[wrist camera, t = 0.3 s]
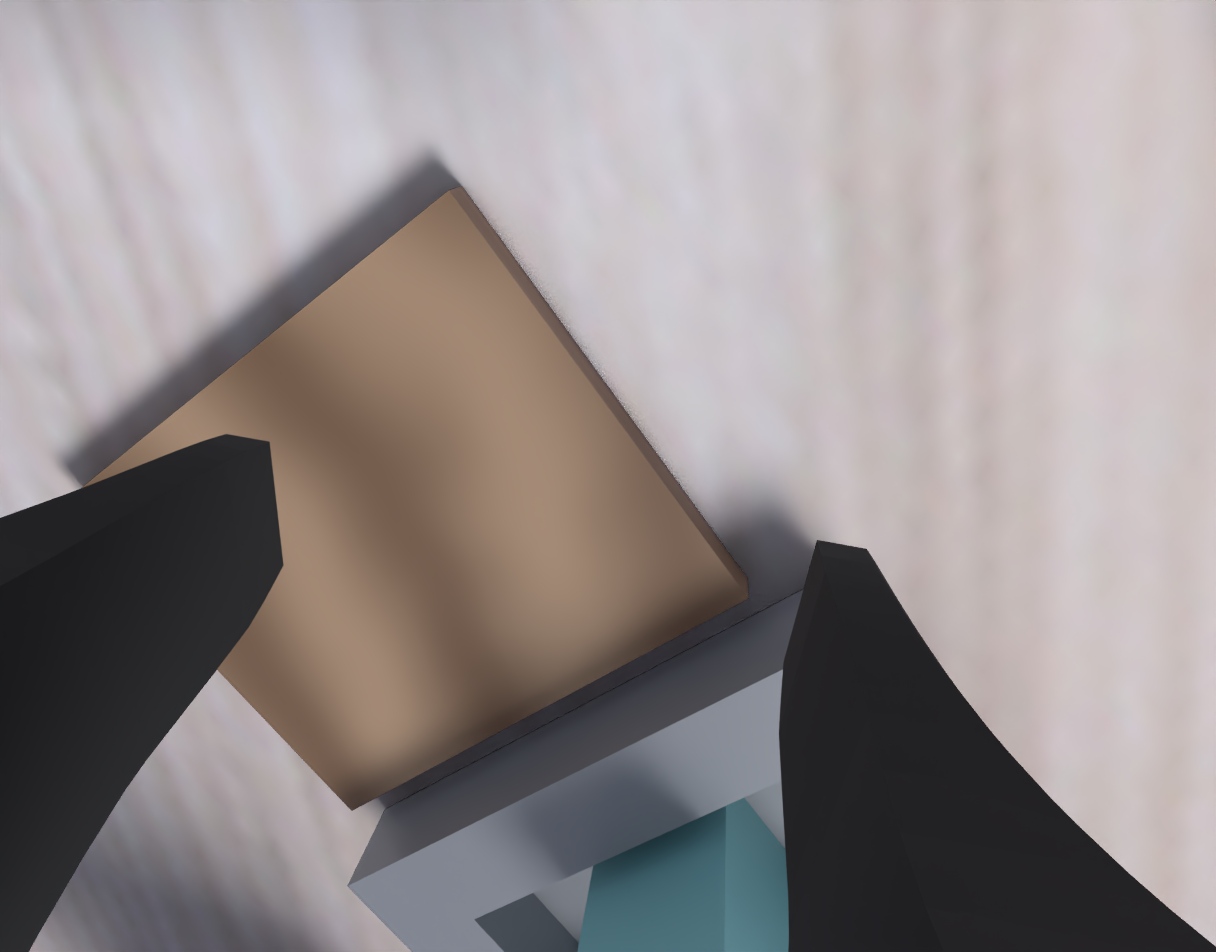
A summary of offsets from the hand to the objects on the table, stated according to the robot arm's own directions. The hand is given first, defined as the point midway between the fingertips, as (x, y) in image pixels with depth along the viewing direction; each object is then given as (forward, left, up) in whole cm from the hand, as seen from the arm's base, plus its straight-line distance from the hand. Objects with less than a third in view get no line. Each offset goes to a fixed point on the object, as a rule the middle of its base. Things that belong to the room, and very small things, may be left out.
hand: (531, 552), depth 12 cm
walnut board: (-8, -1, -11) cm, 13 cm away
